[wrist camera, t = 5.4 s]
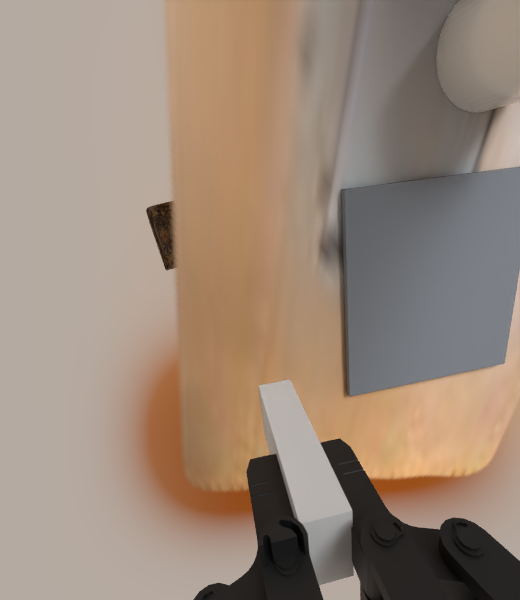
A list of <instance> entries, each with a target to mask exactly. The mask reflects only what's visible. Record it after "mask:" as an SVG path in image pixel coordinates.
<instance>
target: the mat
mask: <svg viewBox="0 0 520 600" xmlns="http://www.w3.org/2000/svg"><path fill="white" fill-rule="evenodd" d="M341 194H342V229H343V265H344V301H345V336H346V372H347V393H348V395H349V396H350V397H351V396H355V395H360V394H365V393H369V392H374V391H379V390H383V389H388V388H392V387H397V386H402V385H406V384H411V383H416V382H420V381H425V380H430V379H434V378H439V377H444V376H448V375H453V374H458V373H462V372H467V371H472V370H476V369H481V368H486V367H490V366H495V365H500V364H504V363H505V357H506V351H507V344H508V338H509V332H510V326H511V320H512V313H513V307H514V301H515V295H516V289H517V282H518V276H519V270H520V167H515V168H507V169H499V170H491V171H483V172H475V173H467V174H460V175H452V176H444V177H436V178H428V179H420V180H413V181H405V182H397V183H389V184H381V185H373V186H365V187H358V188H350V189H342V190H341Z"/></svg>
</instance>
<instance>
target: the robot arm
mask: <svg viewBox="0 0 520 600" xmlns="http://www.w3.org/2000/svg"><path fill="white" fill-rule="evenodd" d="M259 393H260V401H261V408H262V416H263V424H264V432H265V436H266V440H267V444H268V448H269V451H270V455H268V456H263V457H259V458H254V459H250V462H249V465H248V469H247V478H248V484H249V491H250V496H251V503H252V509H253V515H254V521H255V528H256V534H257V540H258V551H257V556H256V559H255V561H254V563H253V565H252V566H251V568H250V569H249V571H248V572H246V573H245V574H244V575H243V576H242V577H241V578H239V579H238V580H236V581H235V582H234V583H232V584H231V585H225V584H221V583H216V584H212V585H208V586H207V587H206V588H204V589H203V590H201V591H200V592H199V593H198V594H197V596H196V597H195V599H194V600H323V597H322V594H321V591H320V588H319V585H321V584H325V583H328V582H332V581H336V580H339V579H343V578H346V577H350V576H353V565H354V567H355V570H356V572H357V575H358V577H359V580H360V584H361V585H360V590H361V593H360V596H361V600H520V561H519V560H518V559H517V558H516V557H514V556H513V555H512V554H511V553H510V552H509V551H508V550H507V549H505V548H504V547H503V546H502V545H501V544H500V543H499V542H497V541H496V540H495V539H494V538H493V537H492V536H491V535H490V534H488V533H487V532H486V531H485V530H484V529H482V528H481V527H479V526H478V525H477V524H475V523H473V522H471V521H468V520H466V519H462V518H451V519H448V520H445V522H444V523H443V524H442V525H441V528H440V530H439V529H428V528H418V527H413V526H409V525H407V524H405V523H403V522H401V521H400V520H399V519H397V518H396V517H394V516H393V515H392V514H391V513H390V512H389V511H388V509H387V508H386V507H385V505H384V503H383V501H382V500H381V498H380V496H379V495H378V493H377V491H376V490H375V488H374V486H373V484H372V483H371V481H370V479H369V478H368V476H367V474H366V473H365V471H364V470H363V467H362V466H361V464H360V462H359V461H358V459H357V457H356V456H355V454H354V452H353V450H352V449H351V447H350V446H348V445H347V444H346V443H345V442H344V441H342V440H341V439H335V440H331V441H326V442H322V443H320V441H319V439H318V437H317V435H316V433H315V431H314V429H313V427H312V425H311V422H310V420H309V418H308V416H307V414H306V412H305V410H304V408H303V406H302V403H301V401H300V399H299V397H298V395H297V393H296V391H295V389H294V387H293V385H292V382H291V380H285V381H280V382H275V383H269V384H264V385H259Z"/></svg>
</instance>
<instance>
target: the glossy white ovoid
mask: <svg viewBox="0 0 520 600" xmlns="http://www.w3.org/2000/svg"><path fill="white" fill-rule="evenodd" d="M436 65H437V73H438V78H439V82H440V85H441V87H442V89H443V91H444V93H445V95H446V96H447V98H448V99H449V100H450V101H451V102H452V103H453V104H454V105H455V106H456V107H458V108H460V109H462V110H464V111H467V112H473V113H476V112H484V111H488V110H492V109H495V108H498V107H502V106H505V105H509V104H512V103H516V102H519V101H520V0H459V1H458V2H457V3H456V5H455V6H454V7H453V9H452V10H451V12H450V13H449V15H448V17H447V19H446V20H445V23H444V25H443V28H442V30H441V33H440V37H439V41H438V46H437V54H436Z"/></svg>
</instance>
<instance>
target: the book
mask: <svg viewBox="0 0 520 600" xmlns="http://www.w3.org/2000/svg"><path fill="white" fill-rule="evenodd" d="M172 206H173V203H172V201H170V202H166V203H162V204H157V205H153V206H151V207H148V208H147V209H146V212H147V216H148V219H149V223H150V226H151V228H152V232H153V234H154V237H155V240H156V243H157V246H158V249H159V252H160V255H161V258H162V261H163V263H164V267H165V269H166V270H170V269H174V268H175V256H174V252H175V251H174V233H173V230H174V227H173V209H172Z"/></svg>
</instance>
